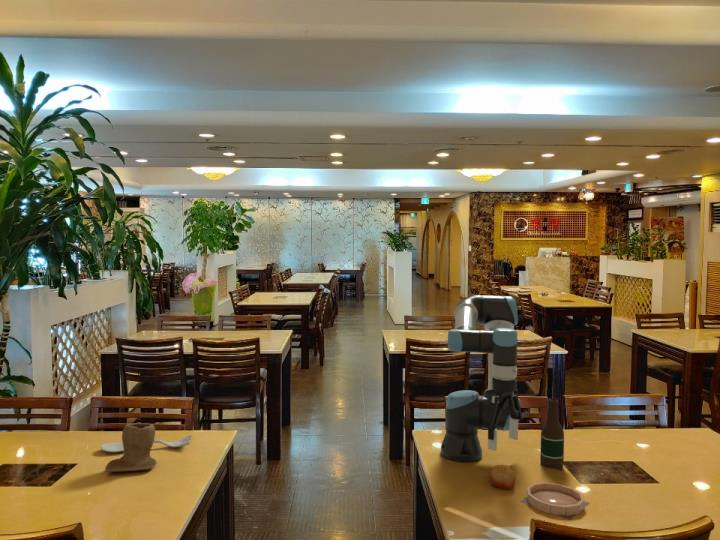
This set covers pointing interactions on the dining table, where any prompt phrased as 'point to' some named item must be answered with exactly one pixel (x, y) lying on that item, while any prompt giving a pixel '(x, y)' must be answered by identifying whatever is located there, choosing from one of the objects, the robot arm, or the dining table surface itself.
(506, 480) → the fruit
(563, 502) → the bowl
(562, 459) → the beer bottle
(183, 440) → the spoon
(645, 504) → the dining table surface
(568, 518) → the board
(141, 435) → the brown boot
